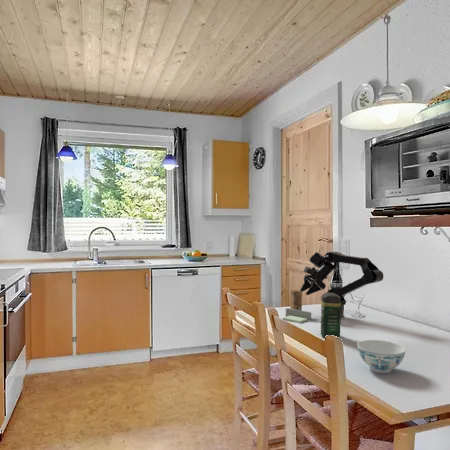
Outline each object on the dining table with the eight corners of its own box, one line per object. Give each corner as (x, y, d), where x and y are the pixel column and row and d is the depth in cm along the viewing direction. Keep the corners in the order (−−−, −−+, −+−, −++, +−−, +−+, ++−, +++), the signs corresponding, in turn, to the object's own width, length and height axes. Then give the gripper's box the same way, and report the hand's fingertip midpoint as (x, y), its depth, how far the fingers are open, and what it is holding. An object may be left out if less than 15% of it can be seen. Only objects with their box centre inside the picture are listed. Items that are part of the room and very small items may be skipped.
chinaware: (348, 369, 134) (348, 345, 134) (369, 358, 144) (369, 337, 144) (393, 382, 123) (394, 357, 123) (412, 370, 134) (412, 347, 134)
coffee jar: (342, 340, 167) (342, 295, 167) (322, 339, 168) (323, 294, 168) (337, 333, 177) (338, 291, 177) (319, 333, 178) (320, 291, 177)
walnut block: (298, 314, 213) (298, 289, 213) (301, 316, 209) (302, 291, 209) (290, 314, 213) (290, 290, 213) (293, 316, 208) (293, 291, 208)
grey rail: (311, 320, 201) (311, 312, 201) (310, 320, 200) (310, 312, 200) (287, 315, 210) (287, 308, 210) (285, 316, 209) (285, 308, 209)
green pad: (307, 320, 200) (307, 318, 200) (300, 323, 194) (300, 321, 194) (290, 317, 206) (290, 315, 206) (282, 319, 201) (282, 317, 201)
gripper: (307, 259, 222) (287, 279, 220) (320, 262, 203) (298, 284, 202) (320, 273, 223) (301, 294, 221) (334, 278, 204) (313, 300, 203)
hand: (303, 293), depth 212 cm, fingers open, 9 cm apart
